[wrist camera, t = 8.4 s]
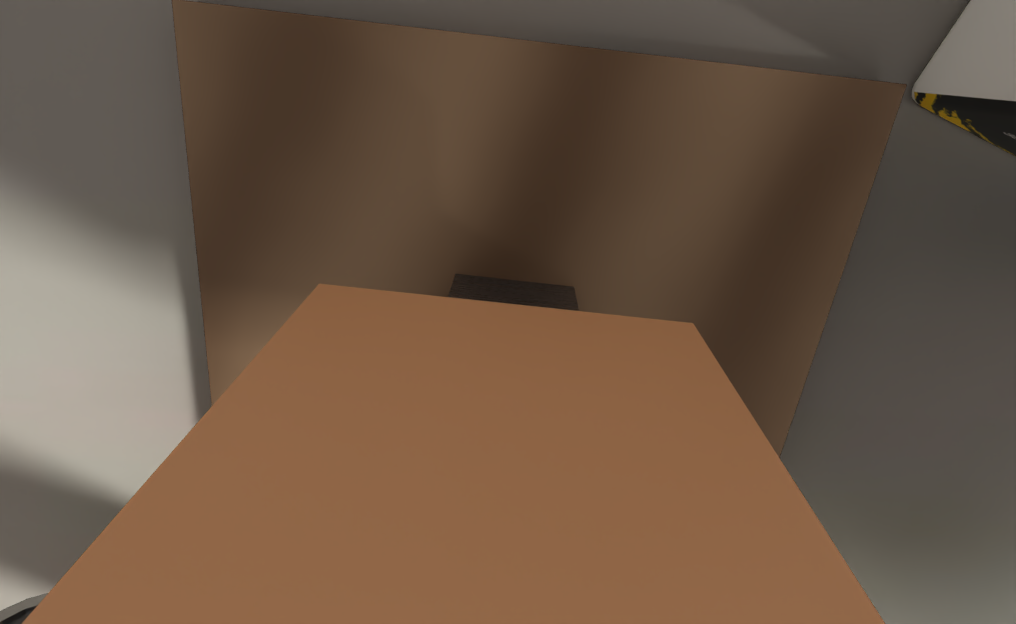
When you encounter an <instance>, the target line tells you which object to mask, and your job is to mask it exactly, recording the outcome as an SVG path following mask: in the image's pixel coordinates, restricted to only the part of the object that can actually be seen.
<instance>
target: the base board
mask: <svg viewBox="0 0 1016 624" xmlns="http://www.w3.org/2000/svg"><path fill="white" fill-rule="evenodd" d="M172 8H173V18H174V28H175V38H176V48H177V59H178V69H179V79H180V89H181V99H182V109H183V119H184V129H185V140H186V150H187V160H188V170H189V180H190V190H191V200H192V211H193V221H194V231H195V241H196V251H197V261H198V271H199V282H200V292H201V302H202V312H203V322H204V332H205V342H206V353H207V363H208V373H209V383H210V393H211V403H212V406H213V404H214V403H215V402H216V401H217V400H218V399H219V398H220V396H221V395H222V394H223V393H224V392H225V391H226V390H227V388H228V387H229V386H230V385H231V384H232V383H233V382H234V380H235V379H236V378H237V377H238V376H239V375H240V374H241V372H242V371H243V370H244V369H245V368H246V367H247V366H248V364H249V363H250V362H251V361H252V360H253V359H254V358H255V356H256V355H257V354H258V353H259V352H260V351H261V350H262V348H263V347H264V346H265V345H266V344H267V343H268V342H269V340H270V339H271V338H272V337H273V336H274V335H275V334H276V332H277V331H278V330H279V329H280V328H281V327H282V326H283V324H284V323H285V322H286V321H287V320H288V319H289V317H290V316H291V315H292V314H293V313H294V312H295V311H296V309H297V308H298V307H299V306H300V305H301V304H302V303H303V301H304V300H305V299H306V298H307V297H308V296H309V295H310V293H311V292H312V291H313V290H314V289H315V288H316V287H317V285H318V284H328V285H337V286H347V287H356V288H366V289H375V290H385V291H394V292H404V293H413V294H422V295H432V296H441V297H448V295H449V292H450V289H451V286H452V283H453V280H454V277H455V274H463V275H473V276H482V277H491V278H500V279H509V280H518V281H527V282H536V283H546V284H555V285H564V286H573V287H574V289H575V294H576V298H577V303H578V308H579V311H583V312H592V313H602V314H611V315H621V316H630V317H640V318H649V319H659V320H668V321H677V322H687V323H693V324H694V325H695V327H696V329H697V330H698V332H699V333H700V335H701V336H702V338H703V339H704V341H705V343H706V344H707V346H708V347H709V349H710V350H711V352H712V354H713V355H714V357H715V358H716V360H717V361H718V363H719V364H720V366H721V368H722V369H723V371H724V372H725V374H726V375H727V377H728V379H729V380H730V382H731V383H732V385H733V386H734V388H735V390H736V391H737V393H738V394H739V396H740V397H741V399H742V400H743V402H744V404H745V405H746V407H747V408H748V410H749V411H750V413H751V415H752V416H753V418H754V419H755V421H756V422H757V424H758V426H759V427H760V429H761V430H762V432H763V433H764V435H765V436H766V438H767V440H768V441H769V443H770V444H771V446H772V447H773V449H774V451H775V452H776V454H777V455H778V457H779V458H780V455H781V452H782V449H783V446H784V443H785V440H786V437H787V434H788V431H789V428H790V425H791V422H792V420H793V417H794V414H795V411H796V408H797V405H798V402H799V399H800V396H801V393H802V390H803V387H804V384H805V381H806V379H807V376H808V373H809V370H810V367H811V364H812V361H813V358H814V355H815V352H816V349H817V346H818V343H819V340H820V338H821V335H822V332H823V329H824V326H825V323H826V320H827V317H828V314H829V311H830V308H831V305H832V302H833V299H834V297H835V294H836V291H837V288H838V285H839V282H840V279H841V276H842V273H843V270H844V267H845V264H846V261H847V258H848V255H849V253H850V250H851V247H852V244H853V241H854V238H855V235H856V232H857V229H858V226H859V223H860V220H861V217H862V214H863V212H864V209H865V206H866V203H867V200H868V197H869V194H870V191H871V188H872V185H873V182H874V179H875V176H876V173H877V171H878V168H879V165H880V162H881V159H882V156H883V153H884V150H885V147H886V144H887V141H888V138H889V135H890V132H891V130H892V127H893V124H894V121H895V118H896V115H897V112H898V109H899V106H900V103H901V100H902V97H903V94H904V91H905V88H906V86H907V84H899V83H890V82H882V81H873V80H864V79H856V78H847V77H839V76H830V75H821V74H813V73H804V72H796V71H787V70H778V69H770V68H761V67H753V66H744V65H735V64H727V63H718V62H710V61H701V60H692V59H684V58H675V57H667V56H658V55H649V54H641V53H632V52H624V51H615V50H606V49H598V48H589V47H580V46H572V45H563V44H555V43H546V42H537V41H529V40H520V39H512V38H503V37H494V36H486V35H477V34H469V33H460V32H451V31H443V30H434V29H426V28H417V27H408V26H400V25H391V24H383V23H374V22H365V21H357V20H348V19H340V18H331V17H322V16H314V15H305V14H297V13H288V12H279V11H271V10H262V9H254V8H245V7H236V6H228V5H219V4H211V3H202V2H193V1H185V0H172Z"/></svg>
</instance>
